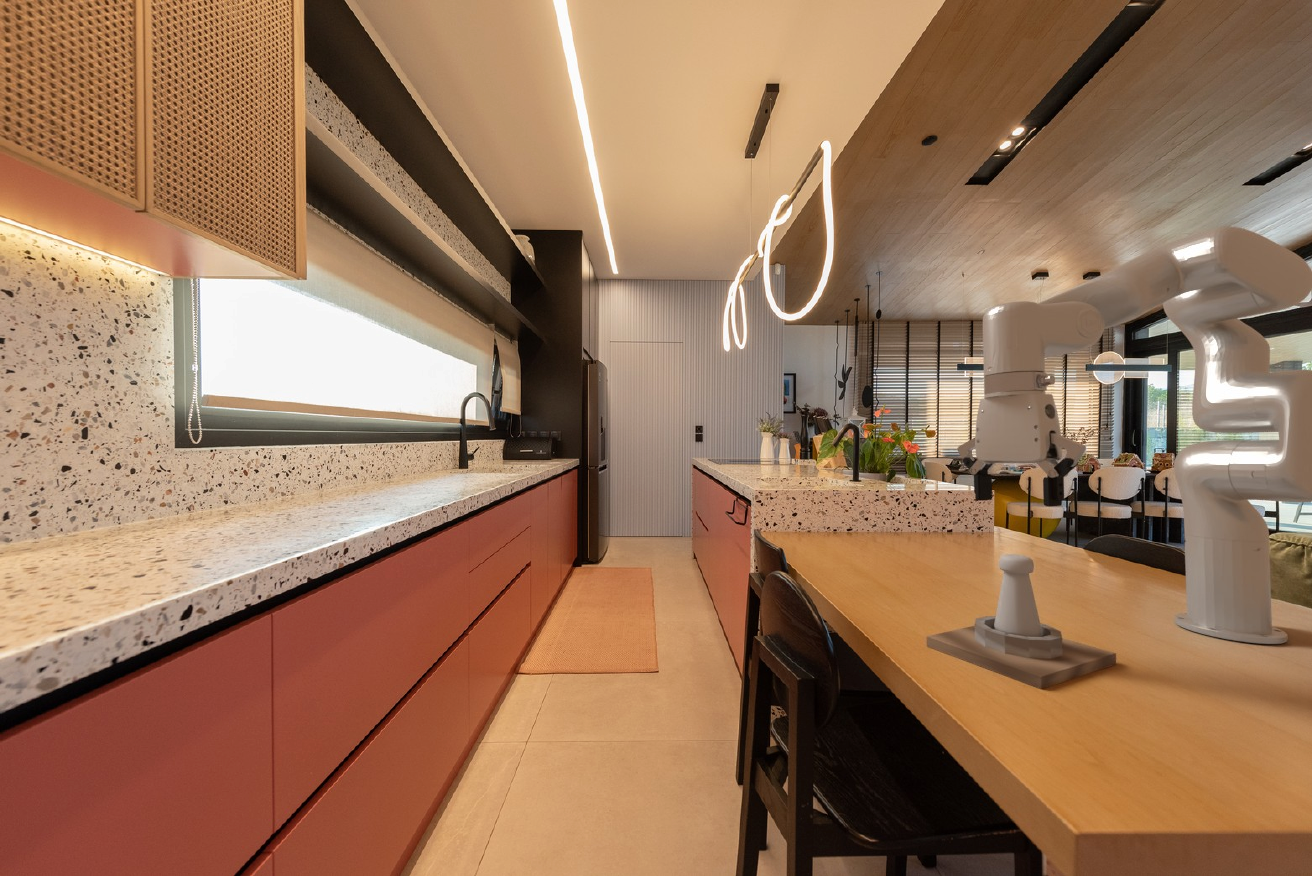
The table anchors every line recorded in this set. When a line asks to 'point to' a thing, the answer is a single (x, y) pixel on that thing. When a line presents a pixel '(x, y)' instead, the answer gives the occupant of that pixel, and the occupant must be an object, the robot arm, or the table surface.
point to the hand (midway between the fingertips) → (1016, 502)
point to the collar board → (1022, 665)
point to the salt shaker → (1017, 598)
